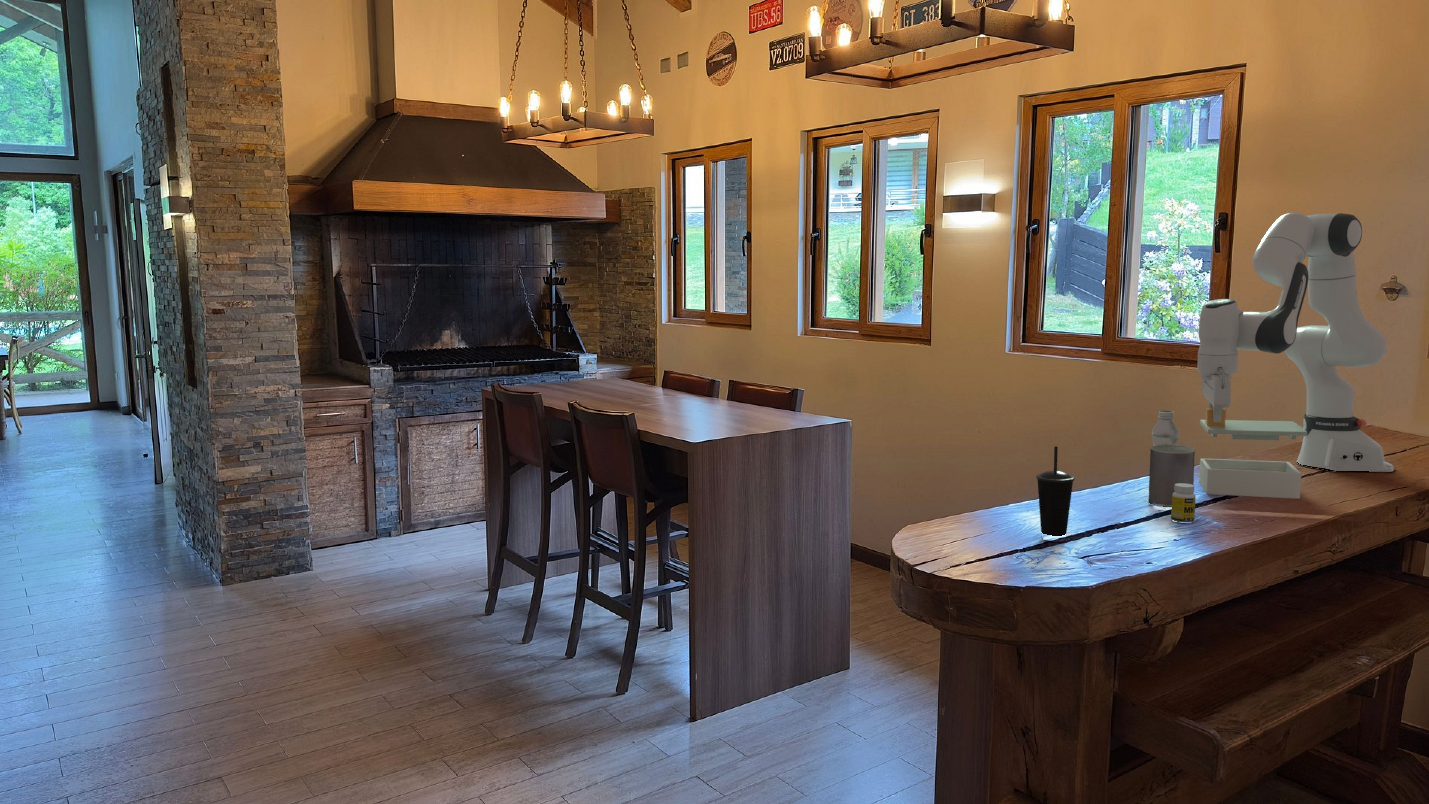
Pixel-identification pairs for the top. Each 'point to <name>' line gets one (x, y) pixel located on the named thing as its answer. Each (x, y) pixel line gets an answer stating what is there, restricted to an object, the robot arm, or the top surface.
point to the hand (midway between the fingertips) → (1215, 420)
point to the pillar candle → (1169, 471)
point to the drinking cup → (1054, 499)
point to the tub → (1250, 478)
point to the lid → (1251, 428)
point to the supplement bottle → (1183, 503)
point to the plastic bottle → (1165, 429)
